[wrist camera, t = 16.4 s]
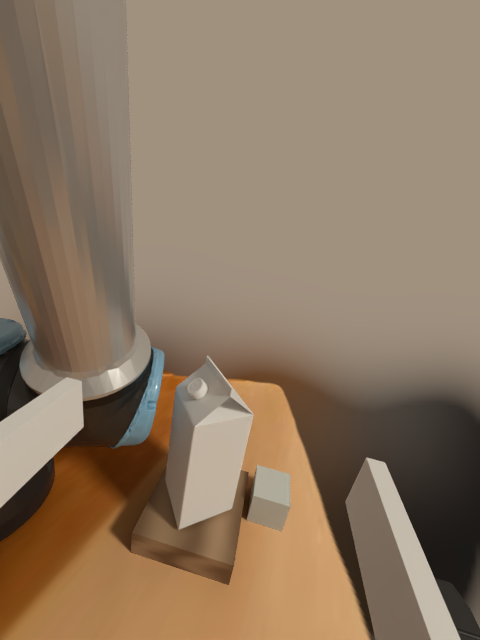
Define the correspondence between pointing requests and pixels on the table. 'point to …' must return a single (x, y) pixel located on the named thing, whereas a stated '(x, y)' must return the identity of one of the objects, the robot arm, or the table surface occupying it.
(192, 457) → the milk carton
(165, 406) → the table surface
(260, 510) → the grey cube
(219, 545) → the walnut block
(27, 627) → the table surface
